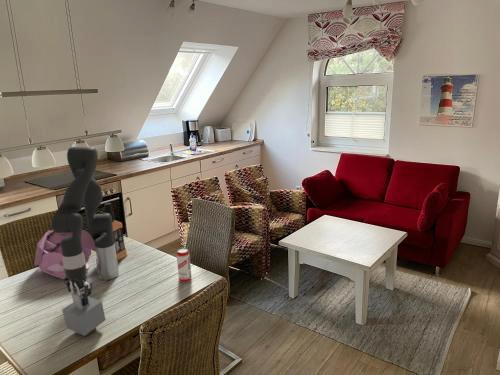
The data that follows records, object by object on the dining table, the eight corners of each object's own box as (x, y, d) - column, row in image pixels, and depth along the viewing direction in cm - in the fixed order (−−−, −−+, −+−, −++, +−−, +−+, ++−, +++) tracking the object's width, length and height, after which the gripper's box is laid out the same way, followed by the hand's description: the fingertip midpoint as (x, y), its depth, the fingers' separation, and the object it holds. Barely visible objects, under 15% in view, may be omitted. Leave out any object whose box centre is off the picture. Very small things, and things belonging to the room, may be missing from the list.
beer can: (189, 283, 185) (186, 253, 180) (176, 282, 186) (174, 252, 182) (193, 277, 191) (191, 248, 186) (181, 276, 192) (179, 247, 188)
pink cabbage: (107, 272, 208) (110, 222, 205) (82, 287, 185) (85, 230, 182) (48, 264, 213) (50, 214, 210) (16, 277, 189) (19, 221, 186)
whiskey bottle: (128, 255, 217) (121, 201, 208) (115, 262, 209) (108, 207, 200) (114, 252, 221) (106, 199, 213) (101, 259, 213) (93, 205, 204)
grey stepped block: (67, 328, 150) (58, 296, 145) (88, 313, 158) (81, 282, 153) (84, 335, 145) (76, 302, 140) (105, 320, 153) (98, 288, 148)
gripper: (53, 264, 144) (61, 303, 148) (78, 272, 137) (85, 313, 142) (71, 256, 150) (77, 294, 155) (95, 263, 143) (101, 303, 148)
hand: (81, 303), depth 148 cm, fingers closed on grey stepped block, 4 cm apart
